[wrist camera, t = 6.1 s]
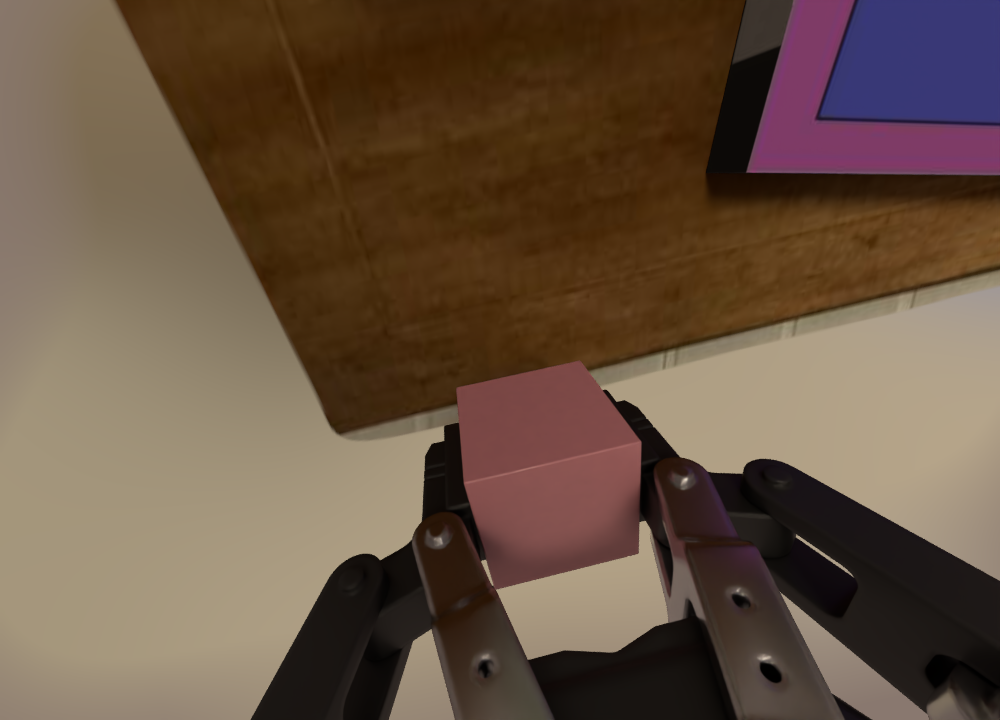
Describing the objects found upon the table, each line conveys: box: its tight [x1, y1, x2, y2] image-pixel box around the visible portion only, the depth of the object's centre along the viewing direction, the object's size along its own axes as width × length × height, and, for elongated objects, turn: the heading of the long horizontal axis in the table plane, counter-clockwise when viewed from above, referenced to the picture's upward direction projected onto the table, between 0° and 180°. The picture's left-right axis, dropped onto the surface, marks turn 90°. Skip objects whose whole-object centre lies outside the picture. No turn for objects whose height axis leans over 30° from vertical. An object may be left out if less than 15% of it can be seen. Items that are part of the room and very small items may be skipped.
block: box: [456, 361, 641, 589], centre depth 11 cm, size 4×4×4 cm
